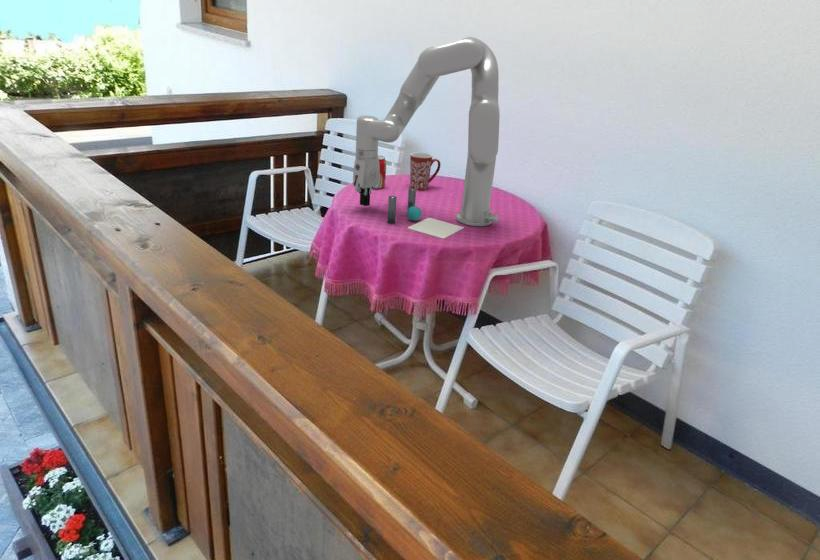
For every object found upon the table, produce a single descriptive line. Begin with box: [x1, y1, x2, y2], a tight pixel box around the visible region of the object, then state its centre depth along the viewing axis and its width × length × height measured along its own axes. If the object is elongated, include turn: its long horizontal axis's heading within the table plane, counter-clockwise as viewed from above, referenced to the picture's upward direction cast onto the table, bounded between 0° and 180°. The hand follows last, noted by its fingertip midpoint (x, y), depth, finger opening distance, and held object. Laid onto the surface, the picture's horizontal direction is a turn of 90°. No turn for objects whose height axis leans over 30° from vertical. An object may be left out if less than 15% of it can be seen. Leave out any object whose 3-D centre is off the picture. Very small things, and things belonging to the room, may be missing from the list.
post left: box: [386, 195, 397, 225], centre depth 198 cm, size 3×3×9 cm
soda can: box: [372, 155, 387, 190], centre depth 233 cm, size 7×7×12 cm
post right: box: [406, 188, 417, 212], centre depth 207 cm, size 3×3×9 cm
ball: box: [406, 205, 422, 222], centre depth 202 cm, size 5×5×5 cm
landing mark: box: [406, 217, 465, 240], centre depth 198 cm, size 14×14×1 cm
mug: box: [409, 151, 441, 191], centre depth 237 cm, size 13×9×14 cm
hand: (364, 204), depth 210 cm, fingers closed
